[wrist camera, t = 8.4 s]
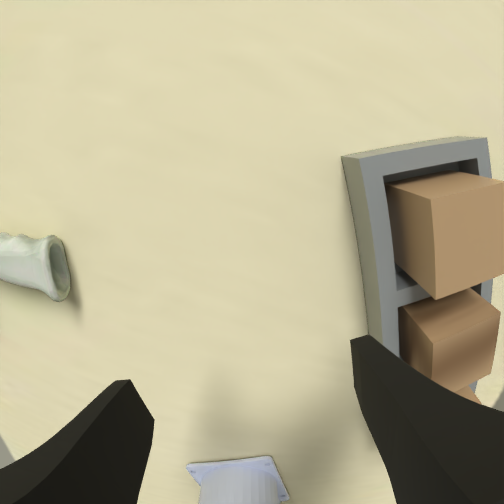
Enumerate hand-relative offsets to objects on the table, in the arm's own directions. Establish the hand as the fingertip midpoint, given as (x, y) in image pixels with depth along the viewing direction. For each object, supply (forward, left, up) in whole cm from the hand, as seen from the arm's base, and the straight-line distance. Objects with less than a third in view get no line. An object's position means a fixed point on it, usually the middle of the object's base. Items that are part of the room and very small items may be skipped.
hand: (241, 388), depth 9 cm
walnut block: (-6, -11, -8) cm, 15 cm away
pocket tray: (-6, -11, -9) cm, 15 cm away
